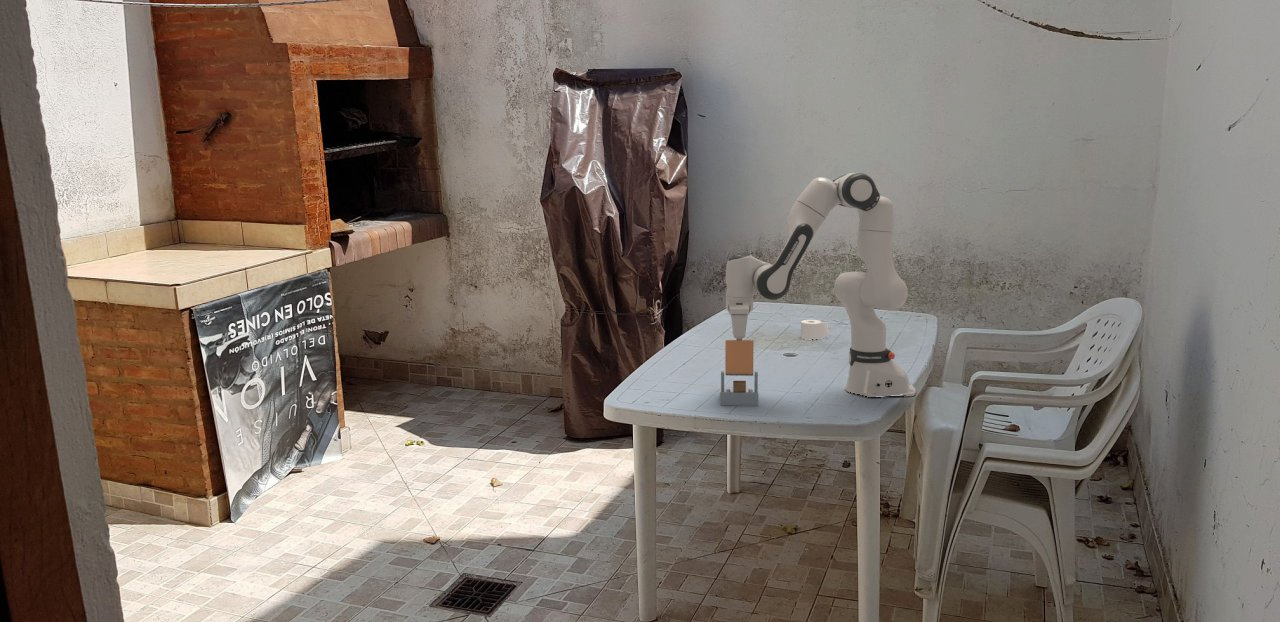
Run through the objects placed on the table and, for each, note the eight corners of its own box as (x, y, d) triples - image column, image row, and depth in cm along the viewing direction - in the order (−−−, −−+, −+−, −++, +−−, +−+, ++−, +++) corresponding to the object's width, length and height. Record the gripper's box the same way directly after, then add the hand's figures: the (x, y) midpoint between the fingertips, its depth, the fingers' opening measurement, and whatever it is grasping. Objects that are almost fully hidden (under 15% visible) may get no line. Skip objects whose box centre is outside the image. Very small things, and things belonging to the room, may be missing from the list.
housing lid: (753, 375, 317) (753, 375, 318) (753, 340, 316) (753, 340, 317) (725, 375, 318) (725, 375, 318) (725, 340, 317) (725, 340, 318)
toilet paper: (829, 337, 402) (830, 320, 400) (813, 341, 394) (813, 324, 393) (813, 334, 408) (813, 317, 406) (796, 338, 400) (796, 321, 399)
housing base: (757, 396, 319) (757, 371, 318) (758, 405, 309) (758, 380, 307) (720, 395, 320) (720, 371, 319) (720, 405, 310) (720, 380, 308)
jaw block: (745, 399, 310) (745, 384, 309) (733, 399, 311) (733, 383, 310) (745, 395, 314) (745, 380, 313) (733, 395, 315) (733, 380, 314)
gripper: (730, 298, 327) (730, 338, 330) (729, 310, 307) (729, 352, 310) (749, 298, 326) (749, 338, 329) (749, 310, 306) (749, 353, 309)
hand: (739, 345), depth 319 cm, fingers closed
